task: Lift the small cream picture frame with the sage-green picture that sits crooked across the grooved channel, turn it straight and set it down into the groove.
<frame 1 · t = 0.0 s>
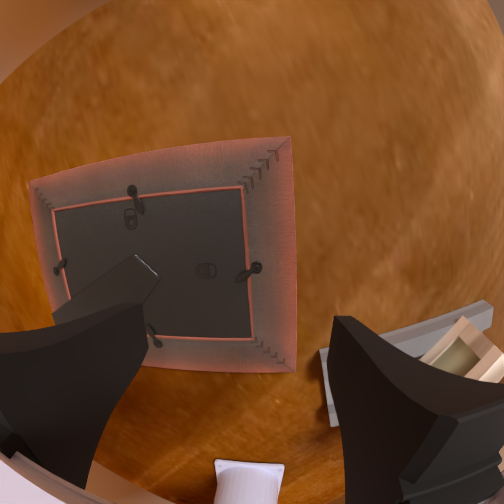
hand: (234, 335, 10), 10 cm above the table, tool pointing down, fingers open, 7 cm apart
frame: (417, 373, 19), point 2 cm above the table, touching grooved channel
grooved channel: (410, 362, 21), on the table
picture frame: (153, 263, 22), on the table
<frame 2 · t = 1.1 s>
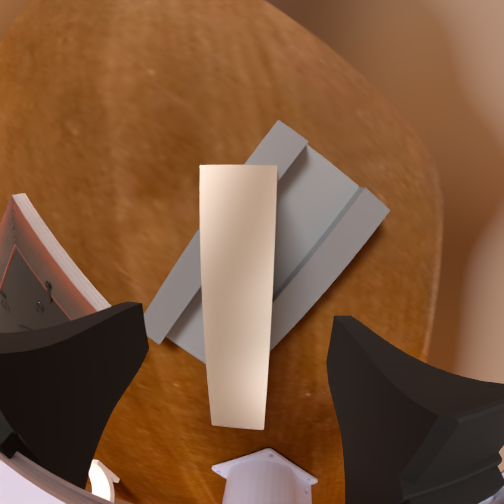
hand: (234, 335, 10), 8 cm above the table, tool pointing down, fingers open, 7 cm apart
headphone stand: (102, 469, 29), on the table
frame: (250, 276, 17), point 2 cm above the table, touching grooved channel
grooved channel: (253, 267, 18), on the table
picture frame: (40, 324, 23), on the table
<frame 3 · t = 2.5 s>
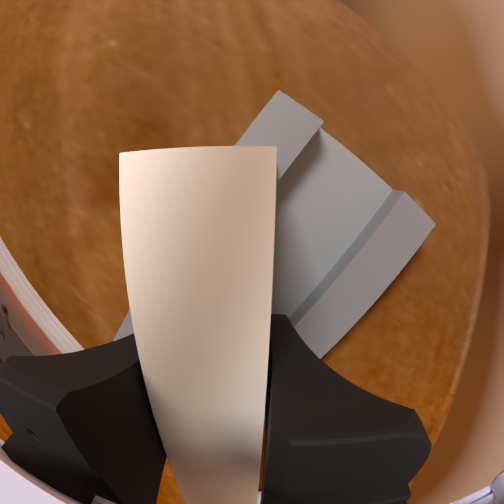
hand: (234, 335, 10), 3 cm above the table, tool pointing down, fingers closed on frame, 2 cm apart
frame: (238, 318, 11), point 2 cm above the table, touching gripper, grooved channel
grooved channel: (243, 300, 13), on the table
picture frame: (9, 347, 18), on the table
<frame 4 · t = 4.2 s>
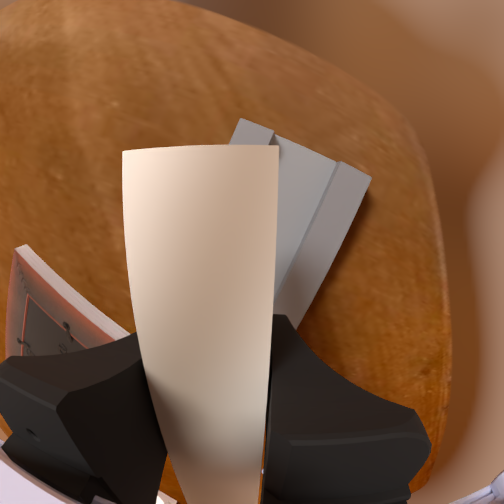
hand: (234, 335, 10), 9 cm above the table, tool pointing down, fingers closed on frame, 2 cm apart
headphone stand: (158, 495, 30), on the table
frame: (236, 315, 12), point 7 cm above the table, touching gripper
grooved channel: (253, 265, 18), on the table
picture frame: (68, 365, 24), on the table
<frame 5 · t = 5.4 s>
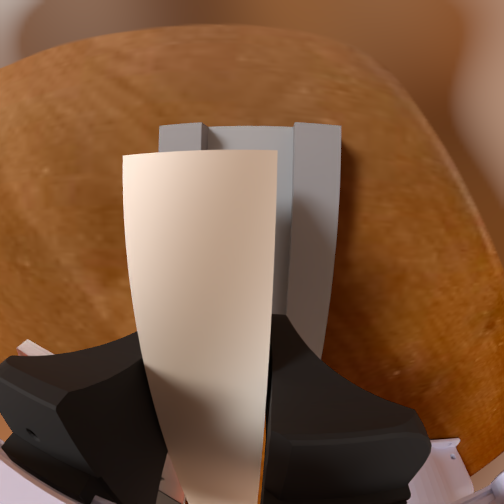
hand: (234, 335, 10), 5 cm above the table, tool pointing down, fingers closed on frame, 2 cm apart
frame: (237, 316, 12), point 4 cm above the table, touching gripper
grooved channel: (248, 285, 15), on the table
picture frame: (115, 441, 22), on the table
when the fingers open (3 cm above the table, at t = 6.2 s): frame stays where it is, resting on grooved channel.
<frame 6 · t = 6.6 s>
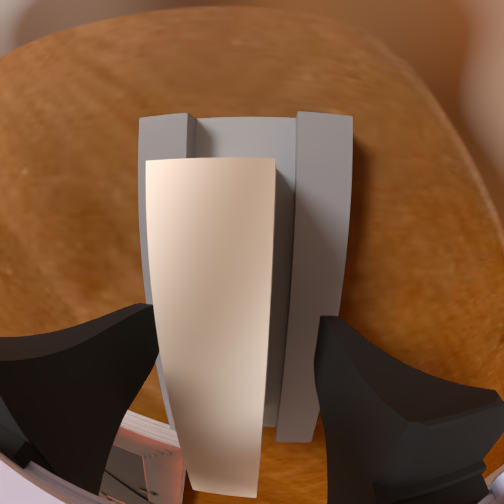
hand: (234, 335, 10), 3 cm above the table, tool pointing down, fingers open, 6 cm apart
frame: (241, 308, 13), point 1 cm above the table, touching grooved channel
grooved channel: (243, 301, 13), on the table
picture frame: (107, 454, 20), on the table
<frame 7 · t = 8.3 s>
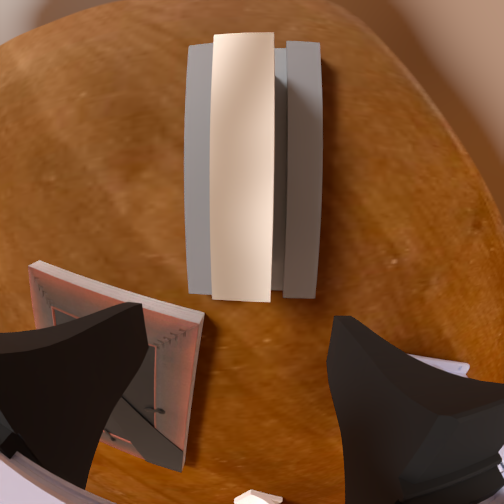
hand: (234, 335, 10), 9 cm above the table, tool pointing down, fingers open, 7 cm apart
headphone stand: (261, 498, 28), on the table
frame: (253, 166, 17), point 1 cm above the table, touching grooved channel
grooved channel: (254, 165, 17), on the table
picture frame: (116, 377, 24), on the table
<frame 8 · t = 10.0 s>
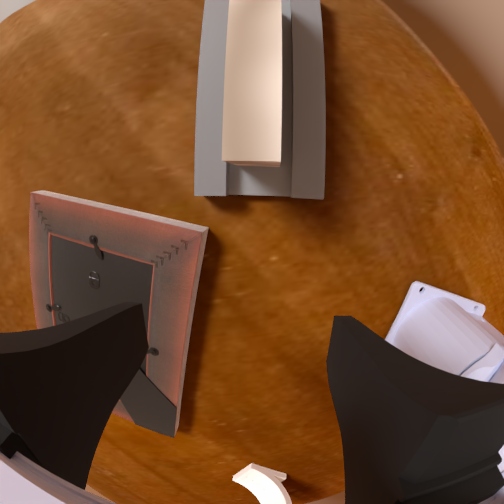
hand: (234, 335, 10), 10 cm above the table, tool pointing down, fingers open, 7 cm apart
headphone stand: (263, 475, 27), on the table
frame: (261, 80, 16), point 1 cm above the table, touching grooved channel
grooved channel: (262, 81, 17), on the table
picture frame: (108, 319, 24), on the table
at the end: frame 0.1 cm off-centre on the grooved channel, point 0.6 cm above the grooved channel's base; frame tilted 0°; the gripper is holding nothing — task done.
